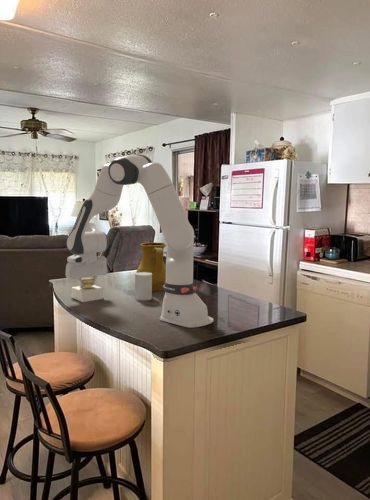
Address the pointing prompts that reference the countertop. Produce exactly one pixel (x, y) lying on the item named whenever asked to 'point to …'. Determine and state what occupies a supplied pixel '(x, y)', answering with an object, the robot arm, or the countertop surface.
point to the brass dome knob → (87, 283)
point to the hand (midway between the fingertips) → (87, 286)
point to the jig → (87, 293)
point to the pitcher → (153, 263)
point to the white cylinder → (143, 286)
